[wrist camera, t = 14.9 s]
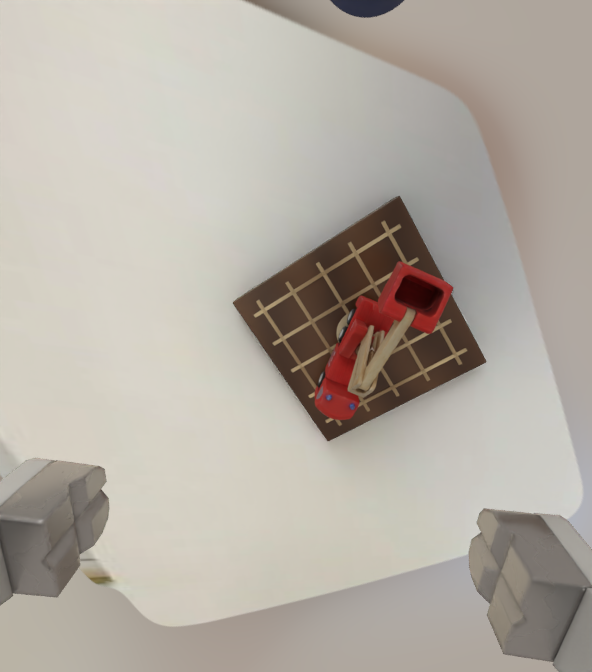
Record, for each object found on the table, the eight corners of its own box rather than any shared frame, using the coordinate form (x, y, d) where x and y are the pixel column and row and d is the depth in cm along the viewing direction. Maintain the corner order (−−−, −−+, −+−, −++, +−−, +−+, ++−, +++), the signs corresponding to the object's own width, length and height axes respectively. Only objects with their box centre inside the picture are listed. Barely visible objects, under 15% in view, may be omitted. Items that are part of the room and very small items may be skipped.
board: (395, 196, 29) (400, 195, 27) (479, 356, 32) (487, 362, 31) (236, 299, 32) (231, 303, 31) (327, 433, 36) (327, 443, 34)
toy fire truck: (311, 392, 33) (306, 458, 24) (378, 250, 29) (405, 263, 19) (344, 406, 33) (353, 477, 24) (416, 267, 29) (460, 287, 20)
